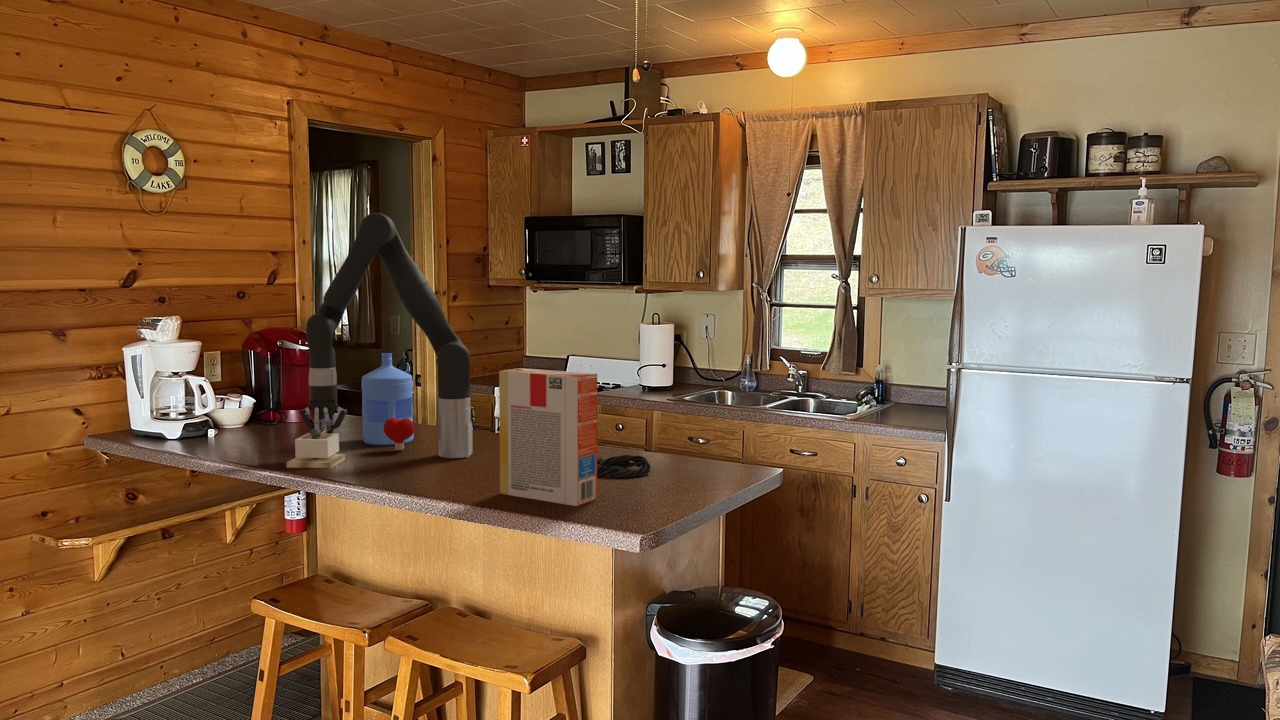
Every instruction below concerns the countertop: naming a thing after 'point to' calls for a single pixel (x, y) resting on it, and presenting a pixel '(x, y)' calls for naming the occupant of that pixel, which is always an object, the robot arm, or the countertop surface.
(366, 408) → the water jug
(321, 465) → the beige peg base
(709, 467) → the countertop surface
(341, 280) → the robot arm
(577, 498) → the pasta box
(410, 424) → the red heart
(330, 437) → the white square frame
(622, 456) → the cable
